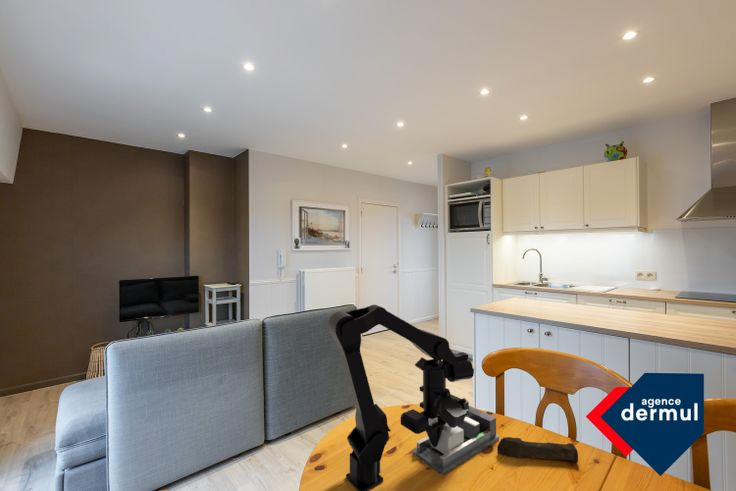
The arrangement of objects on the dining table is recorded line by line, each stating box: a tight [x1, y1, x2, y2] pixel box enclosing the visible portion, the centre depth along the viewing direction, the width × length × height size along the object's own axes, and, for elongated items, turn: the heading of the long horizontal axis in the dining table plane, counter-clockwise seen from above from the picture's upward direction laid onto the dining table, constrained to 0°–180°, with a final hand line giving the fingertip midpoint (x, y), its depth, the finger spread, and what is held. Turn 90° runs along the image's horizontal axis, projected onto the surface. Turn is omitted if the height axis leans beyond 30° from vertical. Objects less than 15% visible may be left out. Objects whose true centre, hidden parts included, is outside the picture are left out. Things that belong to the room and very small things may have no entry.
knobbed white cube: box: [431, 424, 464, 454], centre depth 85 cm, size 6×6×5 cm
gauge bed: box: [412, 405, 500, 476], centre depth 88 cm, size 24×10×6 cm, turn 127°
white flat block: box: [458, 417, 480, 439], centre depth 91 cm, size 2×6×4 cm, turn 37°
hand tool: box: [496, 436, 579, 464], centre depth 84 cm, size 19×4×5 cm, turn 80°
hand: (434, 446), depth 83 cm, fingers closed
